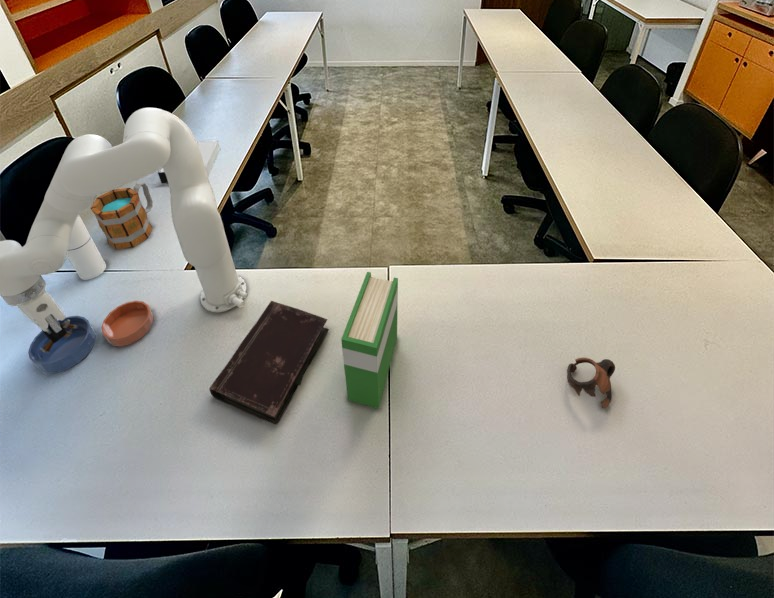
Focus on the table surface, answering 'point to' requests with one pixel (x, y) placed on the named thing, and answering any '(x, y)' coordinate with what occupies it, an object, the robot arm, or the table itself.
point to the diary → (271, 362)
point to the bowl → (63, 347)
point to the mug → (123, 216)
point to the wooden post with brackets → (65, 326)
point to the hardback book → (370, 340)
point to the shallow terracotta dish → (127, 323)
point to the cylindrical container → (84, 252)
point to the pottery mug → (600, 378)
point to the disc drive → (208, 154)
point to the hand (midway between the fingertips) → (57, 336)
